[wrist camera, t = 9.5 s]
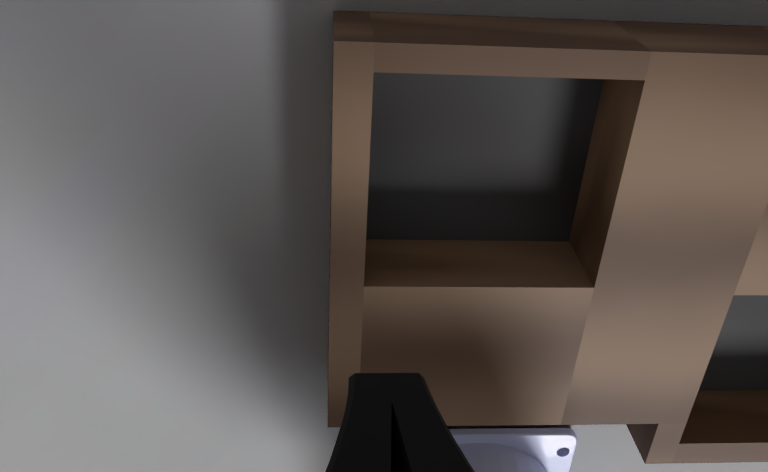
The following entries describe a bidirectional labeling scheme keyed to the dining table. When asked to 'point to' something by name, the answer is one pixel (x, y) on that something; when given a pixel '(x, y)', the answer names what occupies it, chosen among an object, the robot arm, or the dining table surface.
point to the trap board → (555, 223)
